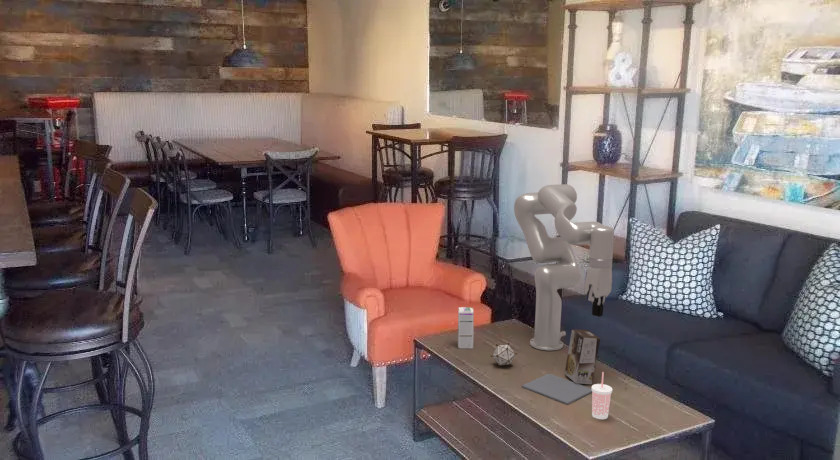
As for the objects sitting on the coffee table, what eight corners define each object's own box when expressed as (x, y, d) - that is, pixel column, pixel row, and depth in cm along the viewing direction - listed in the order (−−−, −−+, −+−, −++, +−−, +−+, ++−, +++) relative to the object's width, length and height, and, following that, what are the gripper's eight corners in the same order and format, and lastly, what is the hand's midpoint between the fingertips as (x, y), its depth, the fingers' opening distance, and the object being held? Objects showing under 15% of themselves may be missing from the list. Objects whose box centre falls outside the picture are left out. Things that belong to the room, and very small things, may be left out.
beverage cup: (605, 410, 222) (608, 367, 219) (613, 419, 216) (617, 375, 214) (586, 411, 221) (589, 368, 218) (594, 421, 215) (597, 376, 212)
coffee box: (592, 384, 241) (601, 338, 239) (575, 384, 240) (583, 337, 237) (580, 374, 250) (588, 329, 247) (563, 373, 248) (571, 328, 246)
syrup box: (473, 348, 272) (474, 311, 269) (457, 348, 272) (458, 311, 269) (472, 343, 278) (473, 307, 275) (457, 343, 278) (458, 306, 275)
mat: (549, 375, 249) (549, 373, 249) (594, 391, 236) (594, 389, 236) (521, 387, 238) (521, 385, 238) (567, 404, 226) (567, 403, 226)
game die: (507, 376, 256) (515, 362, 249) (485, 366, 257) (493, 351, 250) (514, 358, 262) (522, 343, 255) (492, 348, 263) (500, 333, 256)
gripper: (603, 257, 251) (599, 308, 255) (578, 264, 241) (575, 317, 244) (622, 261, 246) (618, 313, 249) (597, 268, 236) (594, 322, 239)
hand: (597, 315), depth 247 cm, fingers closed
